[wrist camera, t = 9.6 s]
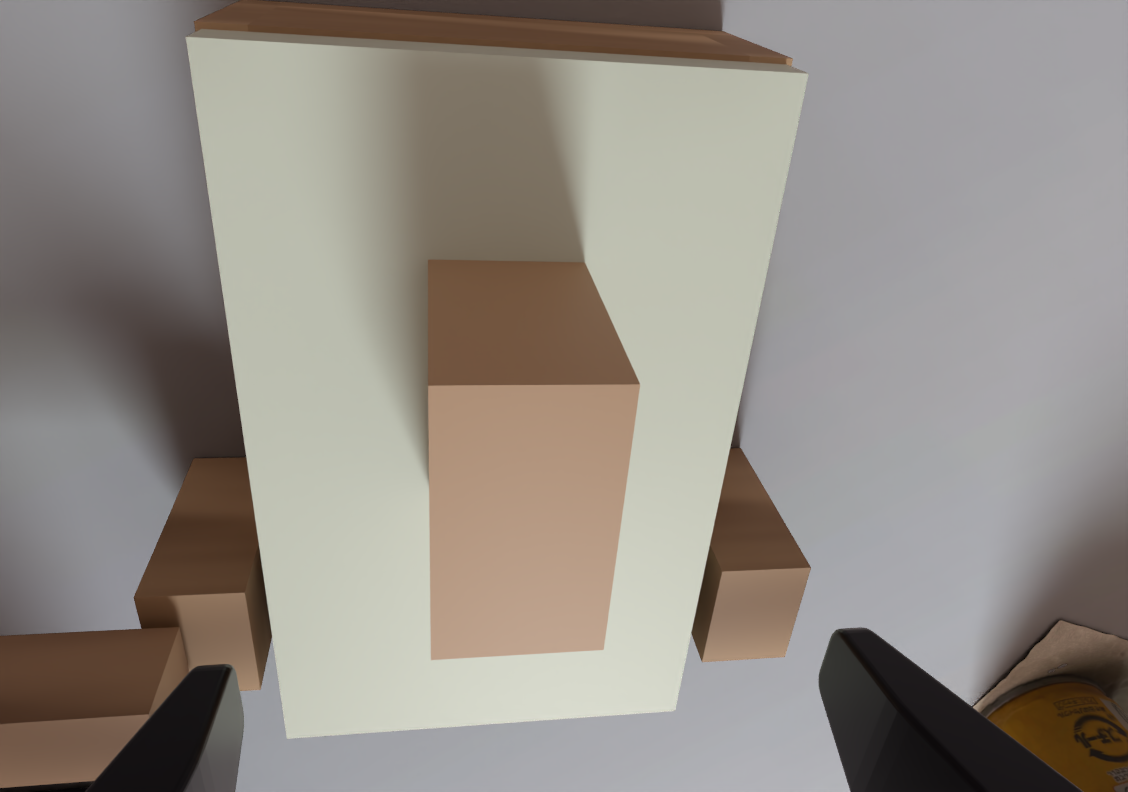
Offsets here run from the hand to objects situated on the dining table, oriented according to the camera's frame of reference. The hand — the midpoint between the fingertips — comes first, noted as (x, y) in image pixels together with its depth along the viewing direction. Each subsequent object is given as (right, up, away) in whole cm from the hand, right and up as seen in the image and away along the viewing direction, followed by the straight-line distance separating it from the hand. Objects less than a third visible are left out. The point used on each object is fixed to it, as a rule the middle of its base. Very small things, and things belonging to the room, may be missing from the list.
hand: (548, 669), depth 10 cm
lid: (-1, +2, +8) cm, 8 cm away
